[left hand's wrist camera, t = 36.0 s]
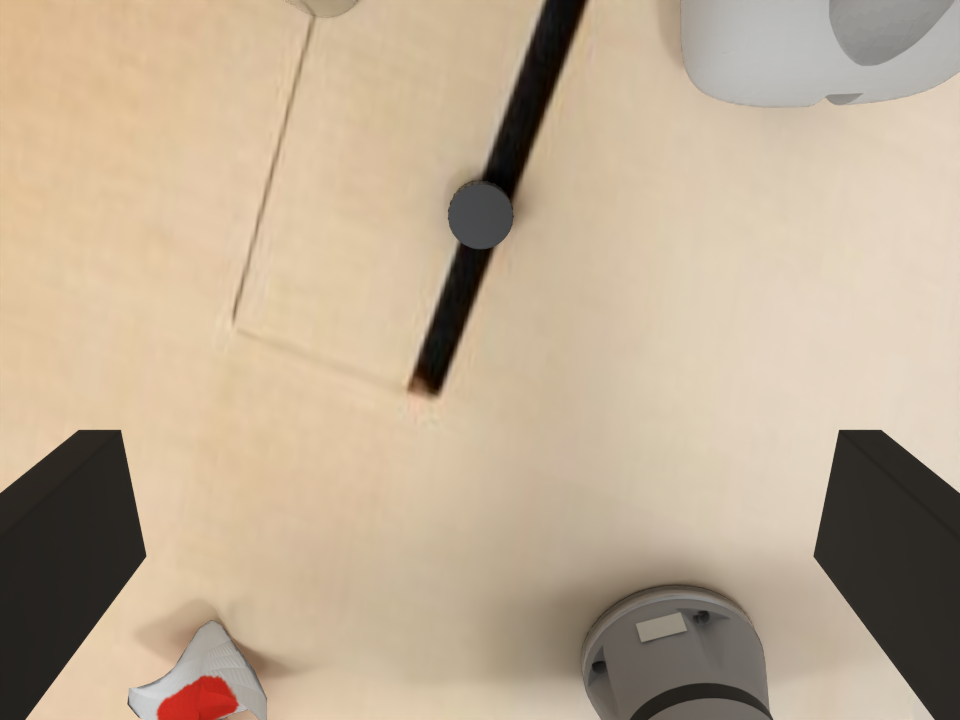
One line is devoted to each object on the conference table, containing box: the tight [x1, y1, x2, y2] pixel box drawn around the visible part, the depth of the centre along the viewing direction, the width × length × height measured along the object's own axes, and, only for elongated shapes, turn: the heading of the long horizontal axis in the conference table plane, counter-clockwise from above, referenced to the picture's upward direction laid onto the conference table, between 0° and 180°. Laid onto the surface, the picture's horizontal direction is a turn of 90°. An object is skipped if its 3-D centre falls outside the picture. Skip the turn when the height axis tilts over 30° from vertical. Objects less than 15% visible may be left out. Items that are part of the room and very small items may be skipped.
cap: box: [448, 180, 514, 249], centre depth 45 cm, size 4×4×2 cm
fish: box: [128, 620, 267, 720], centre depth 57 cm, size 11×16×10 cm
